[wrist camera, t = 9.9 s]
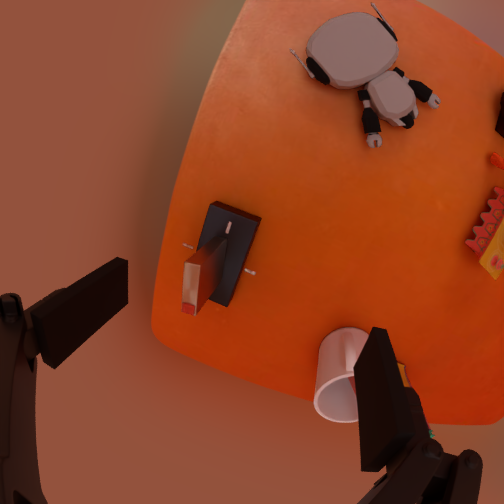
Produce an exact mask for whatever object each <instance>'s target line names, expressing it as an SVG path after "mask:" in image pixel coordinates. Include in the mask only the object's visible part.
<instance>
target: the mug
mask: <svg viewBox="0 0 504 504" xmlns="http://www.w3.org/2000/svg"><path fill="white" fill-rule="evenodd" d="M368 336H369V335H368V334H367V333H366V332H365V331H363V330H361V329H358V328H354V327H345V328H341V329H337V330H335V331H333V332H331V333H330V334H329V335H327V336H326V337H325V338H324V340H323V341H322V343H321V345H320V347H319V358H318V368H317V378H316V387H315V395H314V406H315V409H316V411H317V412H318V413H319V414H320V415H321V416H322V417H324V418H326V419H328V420H331V421H334V422H341V423H345V422H346V423H348V422H349V423H350V422H356V421H358V409H357V398H356V395H355V393H354V391H353V388H352V386H351V384H350V382H349V379H348V377H350V376H354V370H353V367H354V365H355V363H356V361H357V359H358V357H359V355H360V353H361V351H362V349H363V347H364V345H365V343H366V341H367V339H368Z"/></svg>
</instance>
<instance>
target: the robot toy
mask: <svg viewBox="0 0 504 504" xmlns="http://www.w3.org/2000/svg"><path fill="white" fill-rule="evenodd" d="M371 6H372V7H373V8H374V9H375V10H376V12H377V13H378V14H379V16H380V17H381V18H382V20H383V21H384V22H383V21H382V20H381V19H379V18H375V17H374V16H372V15H370V14H368V13H362V12H352V13H347V14H343V15H341V16H338V17H335V18H332V19H329V20H328V21H327V22H325V23H324V24H323V25H322V26H321V27H319V28H318V29H317V30H316V31H315V32H314V33H313V35H312V36H311V37H310V39H309V41H308V44H307V47H306V54H307V57H308V58H307V59H306V64H307V67H308V68H307V67H306V66H305V65H304V63H303V62H302V61H301V60H300V59H299V57H298V56H297V55H296V54H295V52H294V51H293V50H292V49H290V48H289V49H290V52H291V53H292V54H293V55H294V56H295V57H296V58H297V59H298V61H299V62H300V63H301V64H302V65H303V67H304V68H305V69H306V70H307V72H308V73H309V76H310V77H311V78H314V77H315V78H316V80H318V81H319V82H321V83H323V84H324V85H328V84H330V85H332V86H333V87H335V88H337V89H352V88H356V87H359V86H362V85H364V84H366V85H365V87H364V90H359V91H357V92H358V96H359V100H360V101H363V104H364V111H363V115H362V122H363V127H364V132H365V134H366V133H369V134H368V136H367V140H366V141H367V143H368V146H369V147H371V148H375V146H374V142H373V140H376V147H380V146H381V145H382V138H381V137H380V135H379V134H378V133H377V132H381V128H380V124H379V119H378V117H379V118H380V119H383V120H386V121H387V122H388V123H390V124H391V125H392V126H403V127H404V128H406V129H409V128H411V127H412V126H413V125H414V120H413V119H416V117H417V115H418V109H417V106H416V98H418V99H419V100H420V101H422V102H424V103H425V102H427V103H428V105H429V106H430V107H431V108H433V109H437V108H438V107H439V106H438V105H437V104H440V99H439V98H438V97H437V95H435V94H432V90H431V89H430V88H428V87H427V86H426V85H424V84H423V83H422V82H419V81H415V80H410V79H408V78H407V77H405V76H404V72H403V71H402V70H400V69H399V68H397V67H395V68H394V69H393V71H389V70H388V71H386V70H387V69H389V68H390V67H391V66H392V64H393V63H394V62H395V61H396V59H397V57H398V52H399V48H398V46H397V43H396V42H397V38H396V36H395V33H394V32H393V28H392V27H391V26H389V24H388V23H387V21H386V20H385V19H384V17H383V16H382V15H381V13H380V12H379V11H378V9H377V8H376V6H375V5H374V4H373V3H371ZM385 71H386V72H385ZM384 72H385V73H384ZM434 101H435V102H436V103H437V104H436V103H434Z"/></svg>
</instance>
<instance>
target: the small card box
mask: <svg viewBox="0 0 504 504" xmlns="http://www.w3.org/2000/svg"><path fill="white" fill-rule="evenodd" d="M226 246H227V239H226V238H222V237H217V236H215V237H213V238H212V239H211V240H210V241H209V242H207V243H206V244H205V245H204V246H203V247H201V248H200V249H199V250H198V251H197V252H195V253H194V254H193V255H192V256H191V257H190V258H188V259H187V260H186V261H185V262H184V276H183V291H182V309H181V312H184V313H187V314H191V315H194V316H196V315H197V314H198V312H199V311H200V309H201V308H202V307H203V305H204V304H205V303H206V301H207V300H208V298H209V297H210V296H211V294H212V293H213V292H214V290H215V289H216V287H217V286H218V285H219V283H220V282H221V281H222V275H223V268H224V260H225V253H226Z"/></svg>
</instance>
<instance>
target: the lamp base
mask: <svg viewBox="0 0 504 504" xmlns="http://www.w3.org/2000/svg"><path fill="white" fill-rule="evenodd" d="M500 104H501V110H500V114H499V117H498V121H497V125H496V128H495V130H496V131H497V132H498V133H499V134H500V135H501V136H502V137H503V138H504V92H503V93H502V97H501V102H500Z"/></svg>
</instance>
